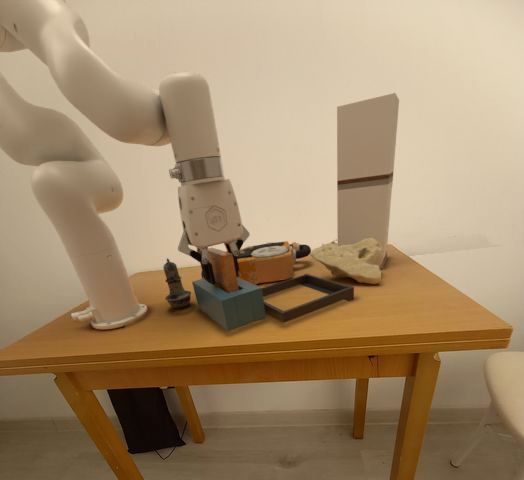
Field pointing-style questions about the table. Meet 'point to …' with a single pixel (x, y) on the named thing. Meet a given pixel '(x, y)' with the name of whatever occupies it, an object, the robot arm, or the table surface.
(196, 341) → the table surface
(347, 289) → the dark rectangular frame
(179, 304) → the dark stone tower figurine
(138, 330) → the table surface
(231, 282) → the wooden plank block
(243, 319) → the blue-grey slotted box
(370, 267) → the beige rock
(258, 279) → the device
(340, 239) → the refrigerator
